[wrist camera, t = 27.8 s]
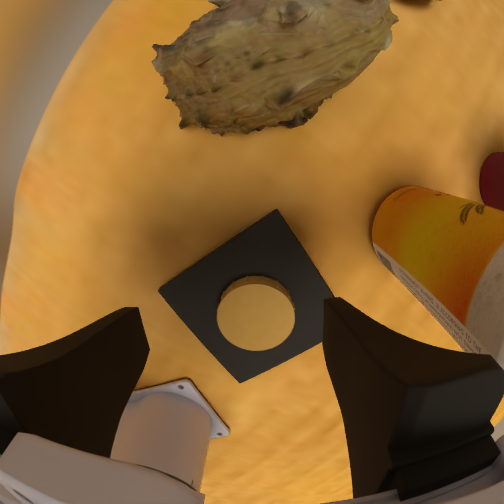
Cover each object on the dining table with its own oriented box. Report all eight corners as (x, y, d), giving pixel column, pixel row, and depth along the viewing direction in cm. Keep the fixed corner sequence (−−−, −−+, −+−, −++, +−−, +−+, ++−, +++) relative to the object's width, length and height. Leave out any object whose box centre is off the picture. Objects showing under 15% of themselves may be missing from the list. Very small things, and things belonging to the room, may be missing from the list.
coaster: (240, 379, 23) (239, 383, 23) (159, 287, 21) (157, 291, 21) (349, 321, 21) (351, 325, 21) (276, 208, 19) (277, 210, 19)
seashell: (381, 29, 16) (446, -43, 6) (288, 190, 18) (326, 191, 9) (249, -33, 15) (246, -123, 5) (140, 112, 17) (52, 61, 8)
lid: (294, 273, 20) (296, 282, 18) (293, 339, 21) (294, 350, 20) (216, 275, 20) (212, 284, 19) (222, 340, 22) (220, 351, 20)
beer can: (453, 227, 19) (608, 318, 5) (401, 285, 20) (521, 432, 6) (408, 166, 18) (603, 209, 3) (350, 229, 19) (493, 377, 5)
